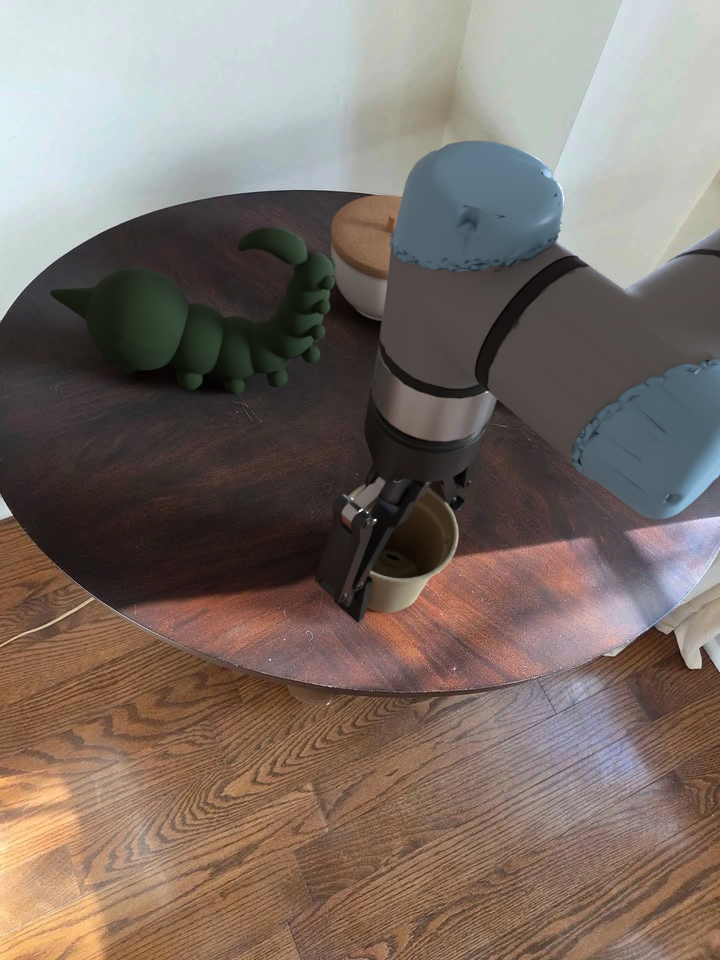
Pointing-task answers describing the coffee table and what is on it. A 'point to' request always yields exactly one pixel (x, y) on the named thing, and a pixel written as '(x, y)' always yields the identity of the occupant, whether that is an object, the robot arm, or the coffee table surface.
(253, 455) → the coffee table surface
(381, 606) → the flower pot
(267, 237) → the toy figurine
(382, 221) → the lidded bowl
